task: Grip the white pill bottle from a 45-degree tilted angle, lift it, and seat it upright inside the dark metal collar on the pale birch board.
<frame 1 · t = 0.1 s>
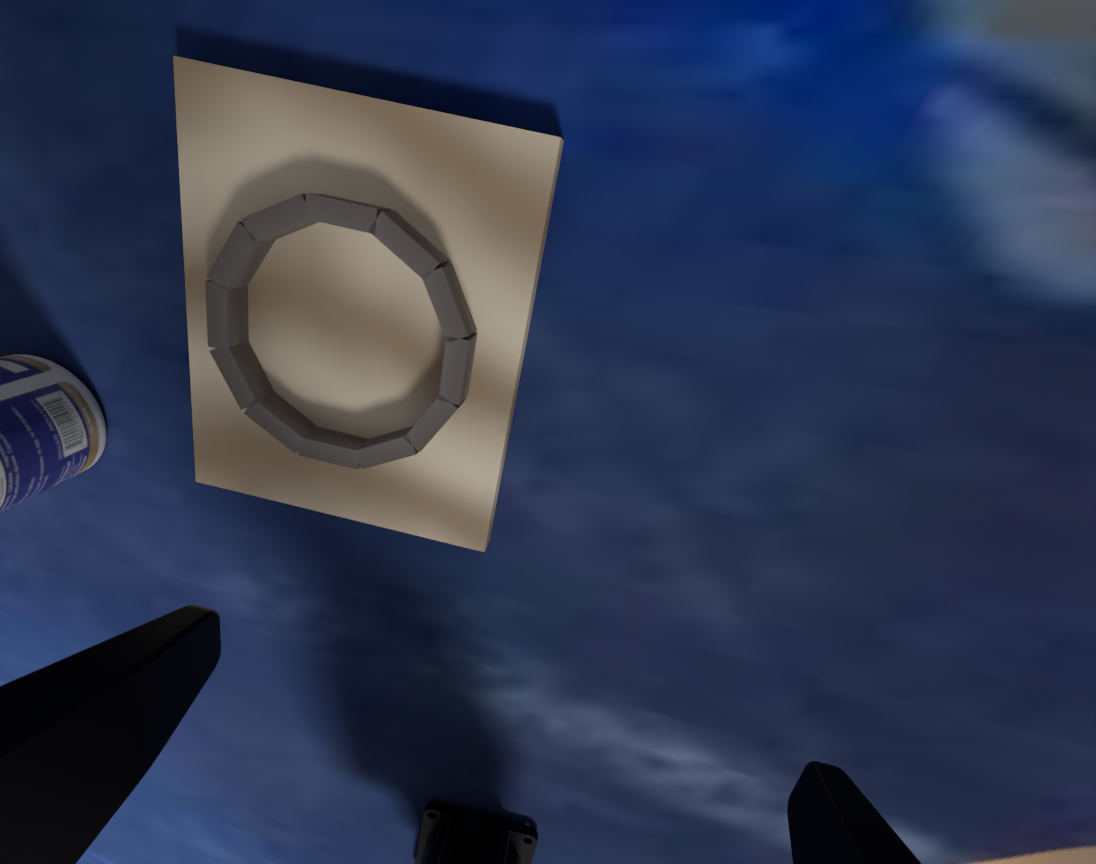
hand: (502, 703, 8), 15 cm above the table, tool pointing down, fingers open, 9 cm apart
collar board: (360, 331, 22), on the table
pill bottle: (58, 412, 25), on the table
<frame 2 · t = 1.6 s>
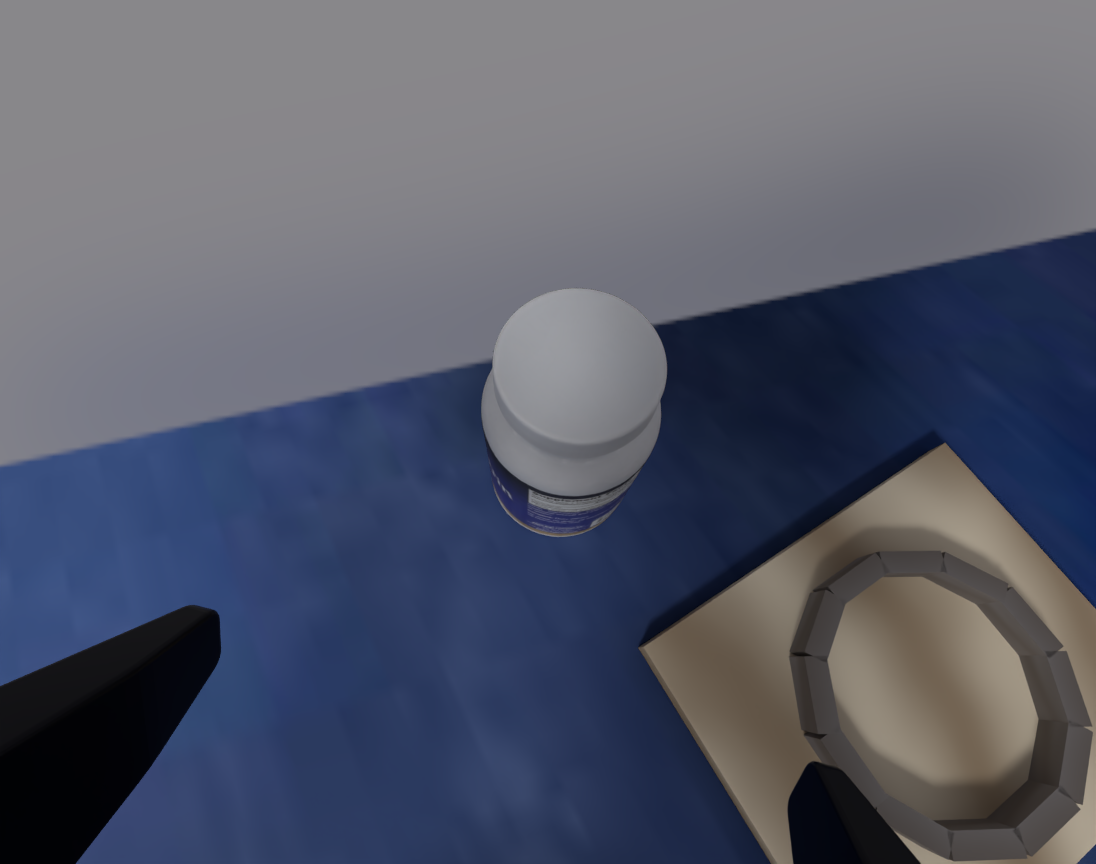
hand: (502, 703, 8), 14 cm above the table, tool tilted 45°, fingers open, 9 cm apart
collar board: (906, 688, 21), on the table
pill bottle: (558, 475, 24), on the table
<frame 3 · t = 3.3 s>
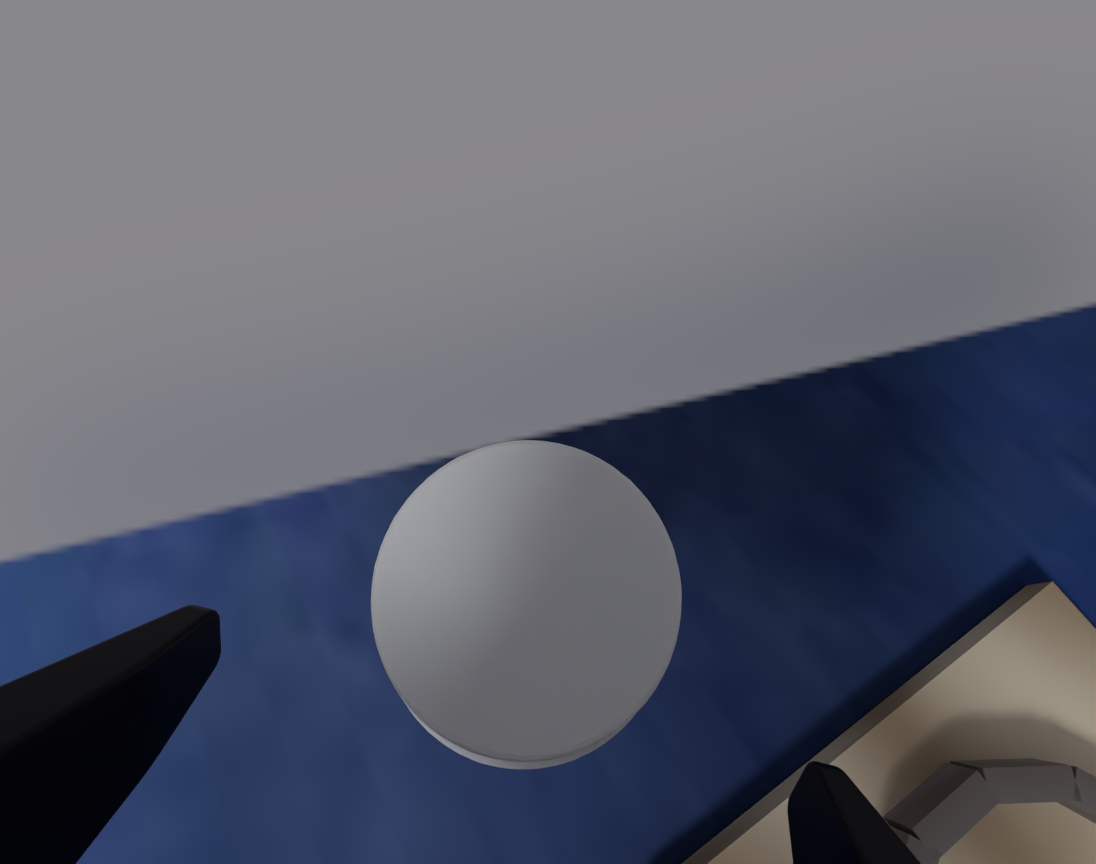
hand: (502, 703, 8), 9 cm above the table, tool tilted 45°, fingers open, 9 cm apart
pill bottle: (524, 626, 18), on the table
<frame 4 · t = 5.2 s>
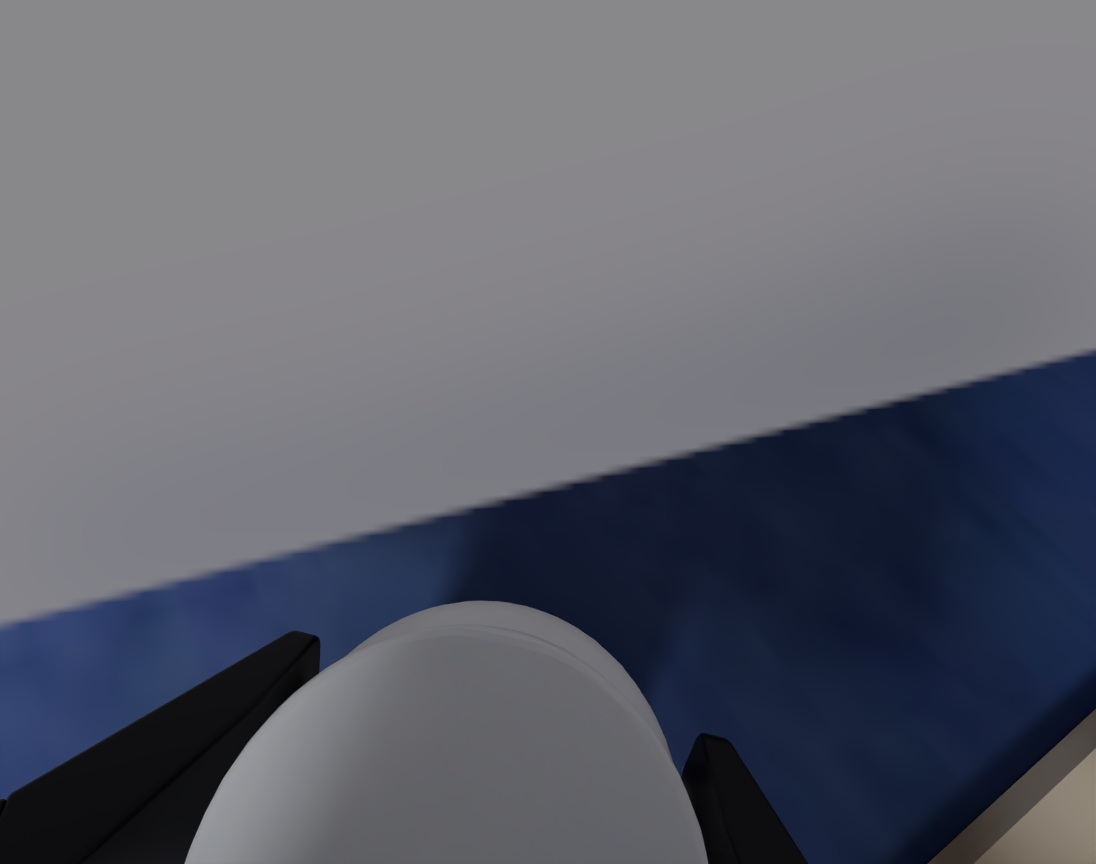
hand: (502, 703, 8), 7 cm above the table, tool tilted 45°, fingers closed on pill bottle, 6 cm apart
pill bottle: (497, 744, 14), on the table, touching gripper
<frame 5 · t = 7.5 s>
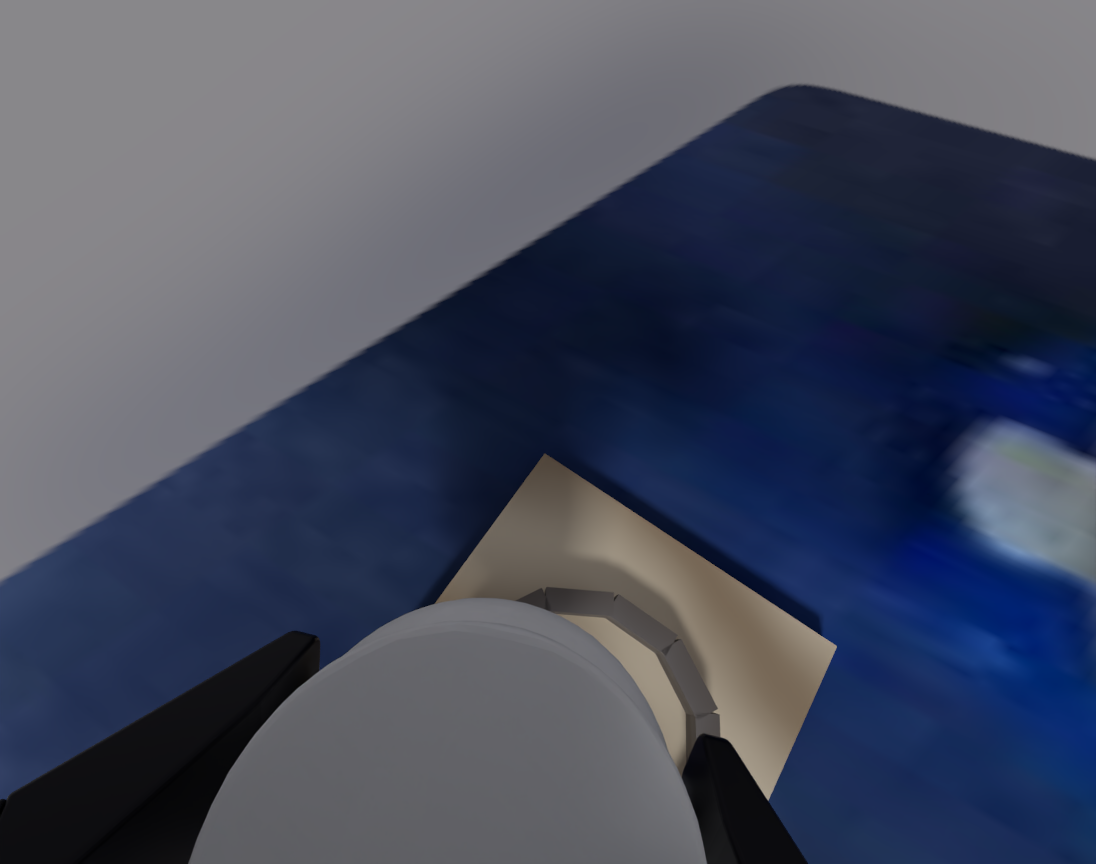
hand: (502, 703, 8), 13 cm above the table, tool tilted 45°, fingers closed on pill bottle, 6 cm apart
collar board: (567, 734, 20), on the table
pill bottle: (495, 740, 14), point 6 cm above the table, touching gripper
when the fingers open (10 cm above the table, at t = 10.0 s): pill bottle drops 2 cm, resting on collar board.
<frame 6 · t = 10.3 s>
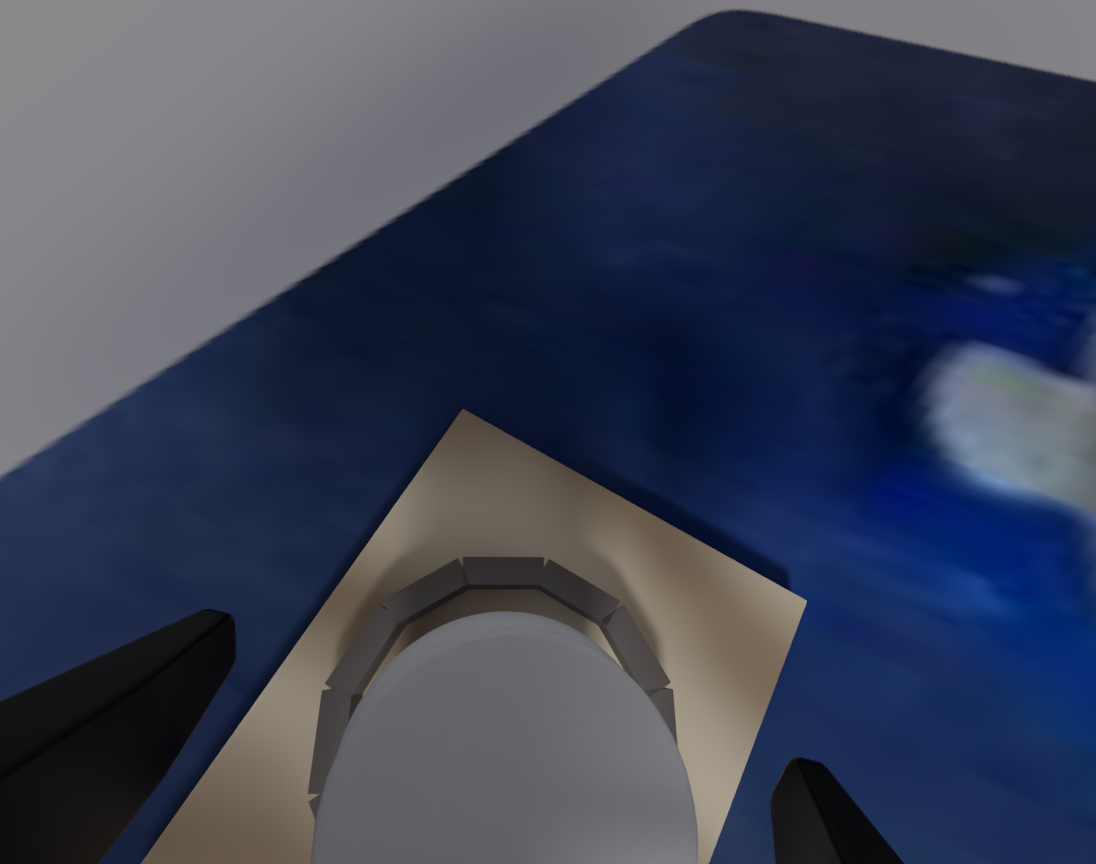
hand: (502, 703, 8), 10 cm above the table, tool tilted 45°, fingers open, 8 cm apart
collar board: (501, 729, 17), on the table
pill bottle: (493, 741, 16), point 1 cm above the table, touching collar board
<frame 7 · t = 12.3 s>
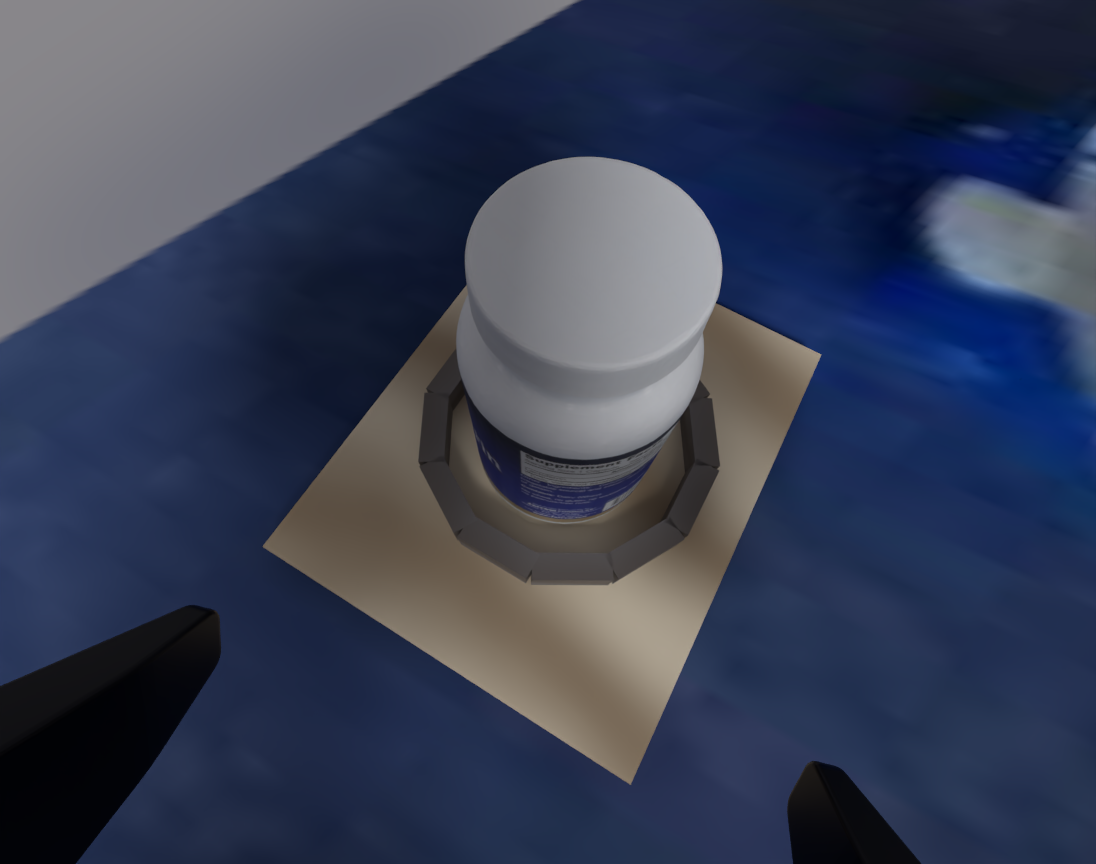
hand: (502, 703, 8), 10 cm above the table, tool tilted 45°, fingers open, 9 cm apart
collar board: (565, 451, 20), on the table
pill bottle: (562, 448, 19), point 1 cm above the table, touching collar board
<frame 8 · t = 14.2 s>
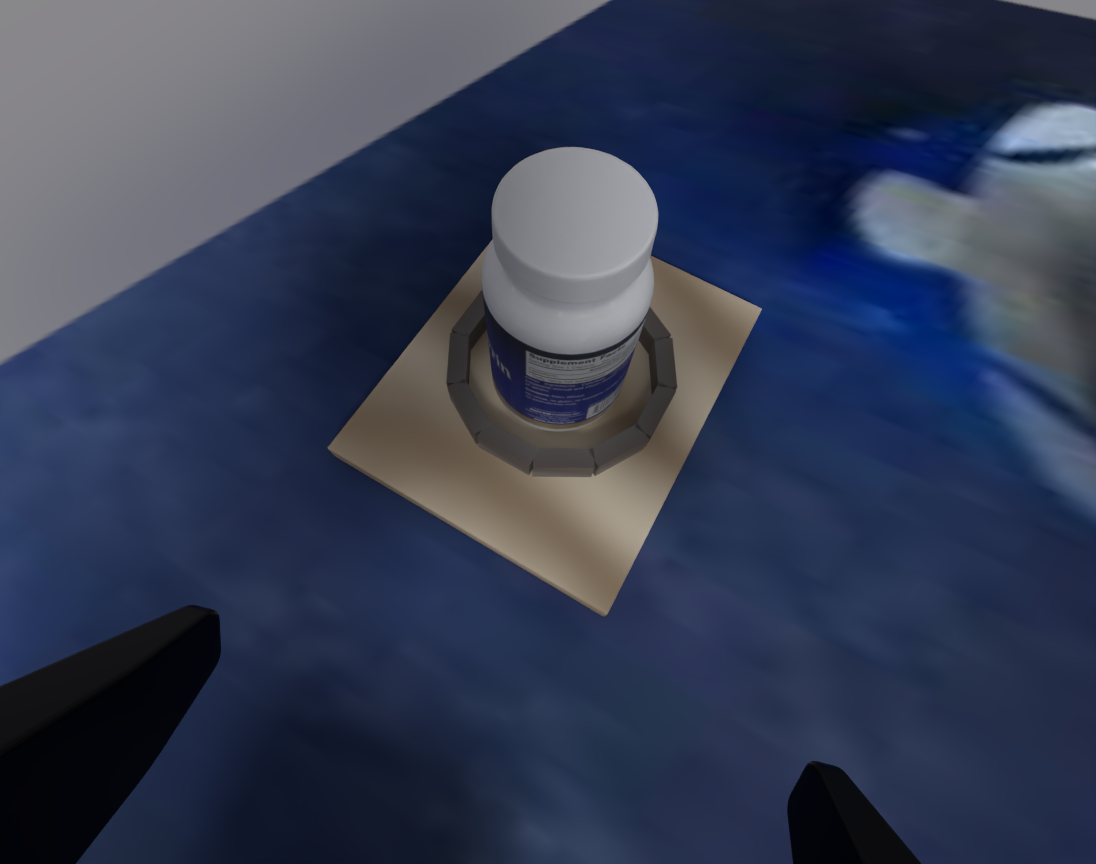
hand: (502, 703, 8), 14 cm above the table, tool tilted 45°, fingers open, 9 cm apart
collar board: (559, 383, 26), on the table
pill bottle: (556, 378, 25), point 1 cm above the table, touching collar board
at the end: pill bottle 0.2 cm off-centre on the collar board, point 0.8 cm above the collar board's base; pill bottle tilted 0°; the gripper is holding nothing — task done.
